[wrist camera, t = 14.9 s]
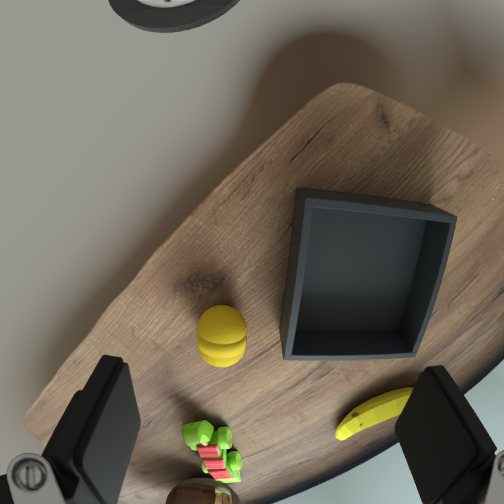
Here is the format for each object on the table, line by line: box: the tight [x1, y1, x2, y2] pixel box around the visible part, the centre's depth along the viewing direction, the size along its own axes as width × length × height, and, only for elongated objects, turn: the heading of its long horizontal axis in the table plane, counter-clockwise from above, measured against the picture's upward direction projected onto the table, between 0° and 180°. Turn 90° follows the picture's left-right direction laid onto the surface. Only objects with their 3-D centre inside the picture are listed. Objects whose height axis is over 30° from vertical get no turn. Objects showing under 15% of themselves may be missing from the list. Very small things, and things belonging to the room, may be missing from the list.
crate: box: [280, 188, 457, 361], centre depth 33 cm, size 18×17×6 cm
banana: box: [335, 387, 414, 441], centre depth 44 cm, size 5×17×15 cm
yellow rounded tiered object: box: [197, 305, 247, 367], centre depth 36 cm, size 8×6×6 cm
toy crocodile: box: [182, 420, 242, 483], centre depth 44 cm, size 20×7×6 cm, turn 11°
